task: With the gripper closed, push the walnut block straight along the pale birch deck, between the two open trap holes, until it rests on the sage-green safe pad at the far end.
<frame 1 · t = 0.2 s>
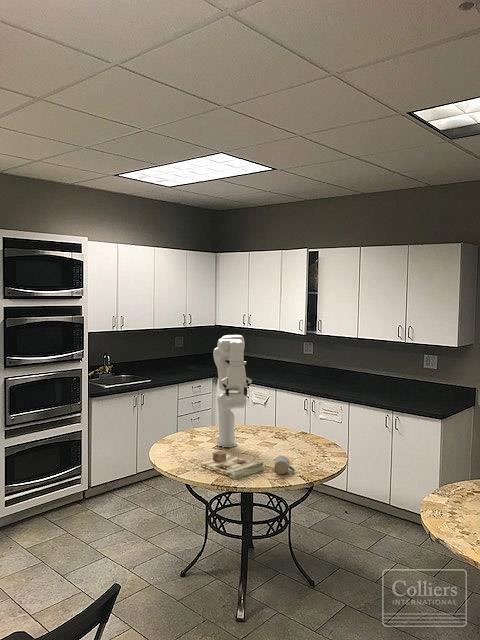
hand: (236, 395, 286), 37 cm above the table, tool pointing down, fingers open, 9 cm apart
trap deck: (231, 468, 278), on the table
walnut block: (219, 460, 285), point 2 cm above the table, touching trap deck
ceramic mug: (284, 472, 273), on the table
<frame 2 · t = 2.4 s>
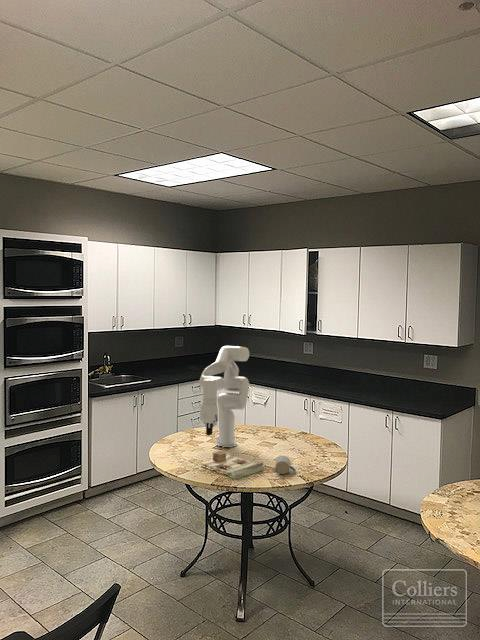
hand: (209, 434, 289), 14 cm above the table, tool pointing down, fingers closed
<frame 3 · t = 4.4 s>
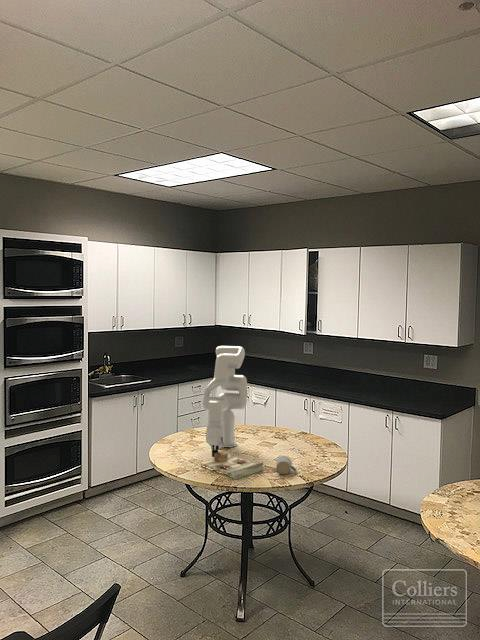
hand: (215, 456, 287), 3 cm above the table, tool pointing down, fingers closed
walnut block: (220, 460, 284), point 2 cm above the table, touching gripper, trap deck
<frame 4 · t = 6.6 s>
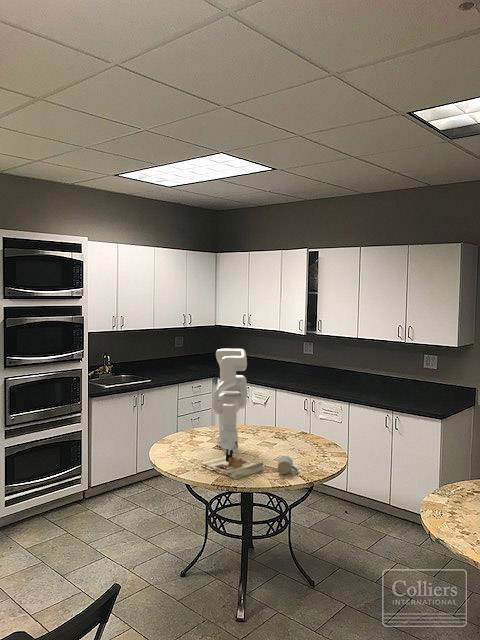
hand: (229, 461, 280), 3 cm above the table, tool pointing down, fingers closed
walnut block: (235, 465, 276), point 2 cm above the table, touching gripper, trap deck
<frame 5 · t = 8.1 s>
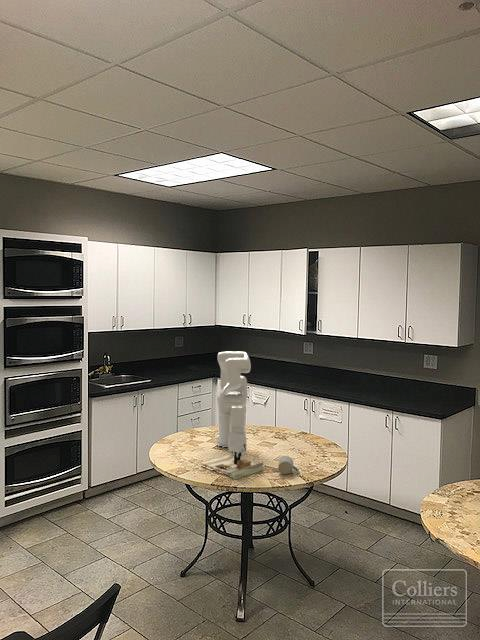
hand: (237, 463, 275), 3 cm above the table, tool pointing down, fingers closed
walnut block: (243, 468, 272), point 2 cm above the table, touching gripper, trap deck
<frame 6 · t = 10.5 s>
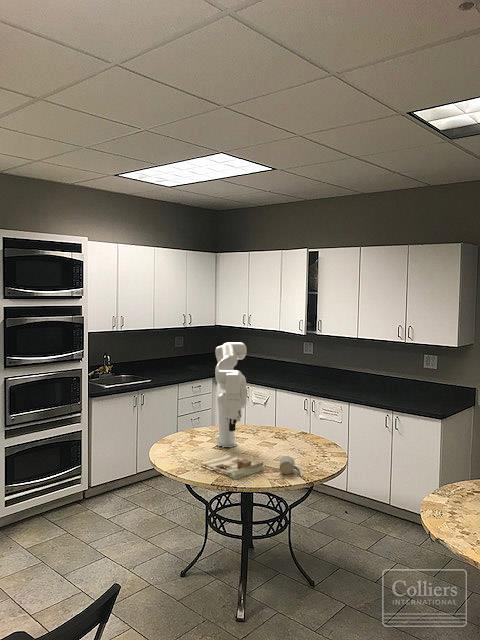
hand: (232, 430, 279), 19 cm above the table, tool pointing down, fingers closed
walnut block: (244, 468, 272), point 2 cm above the table, touching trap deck
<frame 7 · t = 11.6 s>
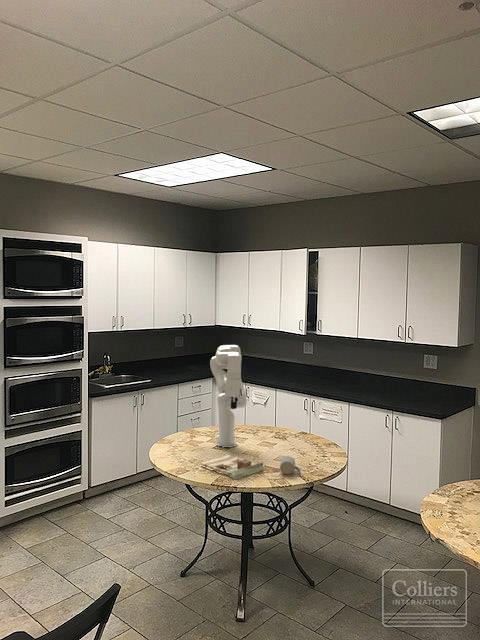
hand: (233, 408, 297), 27 cm above the table, tool pointing down, fingers closed
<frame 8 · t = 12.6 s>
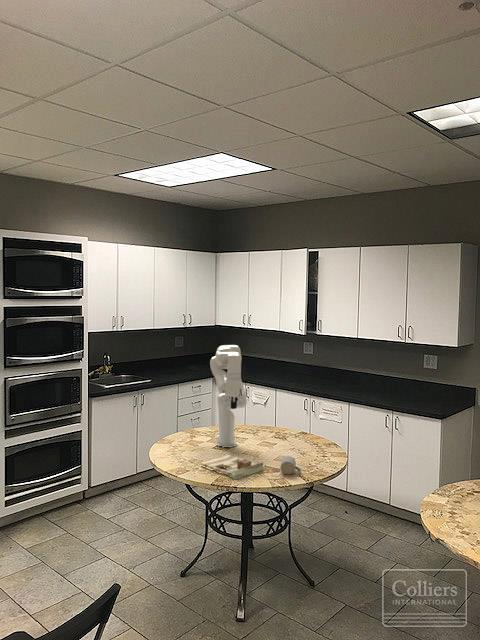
hand: (233, 408, 297), 27 cm above the table, tool pointing down, fingers closed
at the end: walnut block inside the target area on the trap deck (0.2 cm from its centre), point 2.0 cm above the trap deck's base; walnut block tilted 0° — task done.
